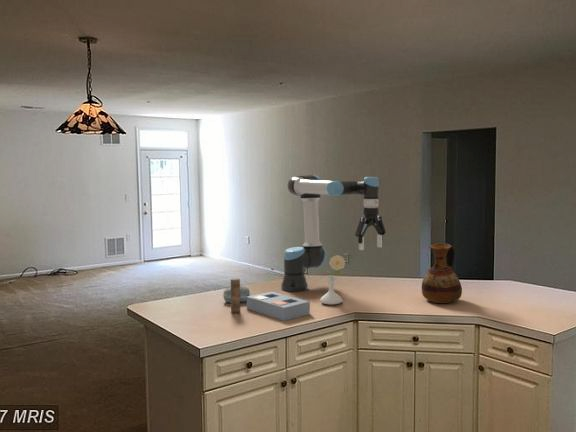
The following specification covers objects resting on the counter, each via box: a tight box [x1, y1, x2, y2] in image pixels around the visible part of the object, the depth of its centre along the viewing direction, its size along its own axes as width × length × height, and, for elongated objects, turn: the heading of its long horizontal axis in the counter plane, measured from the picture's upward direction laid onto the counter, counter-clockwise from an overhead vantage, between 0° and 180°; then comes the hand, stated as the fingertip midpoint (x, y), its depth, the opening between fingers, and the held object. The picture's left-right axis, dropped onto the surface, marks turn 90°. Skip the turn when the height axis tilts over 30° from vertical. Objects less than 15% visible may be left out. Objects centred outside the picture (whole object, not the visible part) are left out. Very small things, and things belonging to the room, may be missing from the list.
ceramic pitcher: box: [421, 242, 463, 304], centre depth 263 cm, size 20×20×30 cm
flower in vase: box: [319, 254, 346, 305], centre depth 259 cm, size 13×11×25 cm
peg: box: [230, 278, 241, 315], centre depth 244 cm, size 4×4×16 cm
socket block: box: [246, 291, 311, 322], centre depth 246 cm, size 28×16×6 cm, turn 41°
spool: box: [222, 285, 251, 304], centre depth 264 cm, size 14×10×10 cm
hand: (370, 248), depth 262 cm, fingers open, 13 cm apart
